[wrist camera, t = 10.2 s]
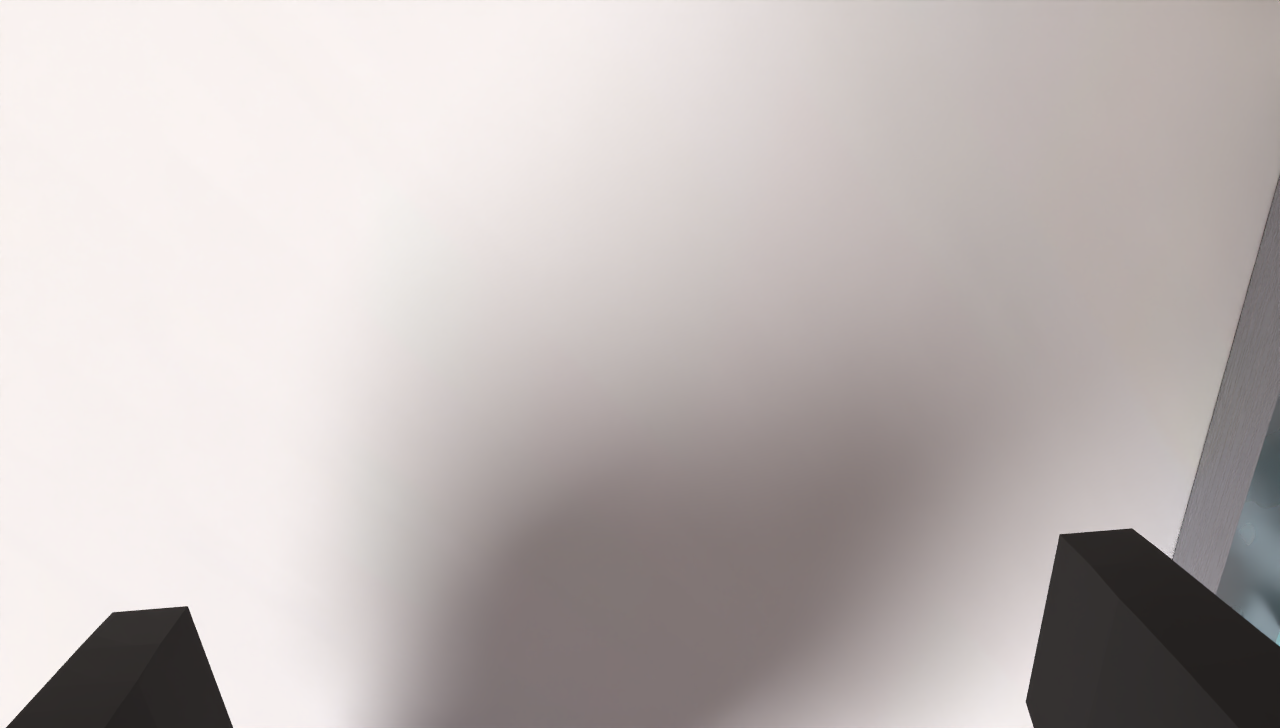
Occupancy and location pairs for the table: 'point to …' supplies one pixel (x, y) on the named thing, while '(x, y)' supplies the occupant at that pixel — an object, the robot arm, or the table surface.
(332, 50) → the table surface
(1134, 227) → the table surface
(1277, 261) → the carrier
